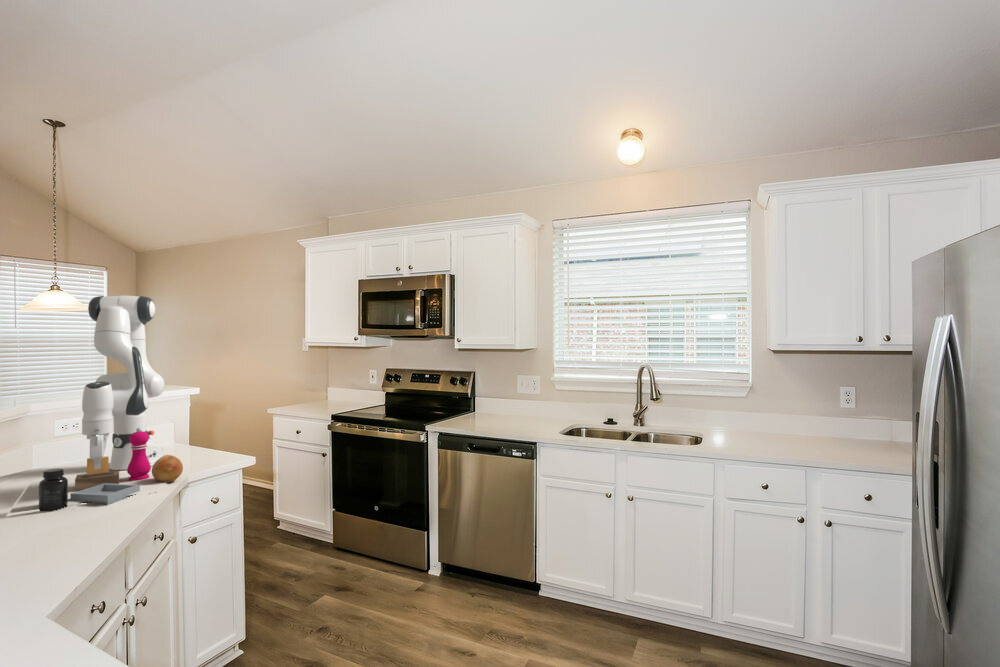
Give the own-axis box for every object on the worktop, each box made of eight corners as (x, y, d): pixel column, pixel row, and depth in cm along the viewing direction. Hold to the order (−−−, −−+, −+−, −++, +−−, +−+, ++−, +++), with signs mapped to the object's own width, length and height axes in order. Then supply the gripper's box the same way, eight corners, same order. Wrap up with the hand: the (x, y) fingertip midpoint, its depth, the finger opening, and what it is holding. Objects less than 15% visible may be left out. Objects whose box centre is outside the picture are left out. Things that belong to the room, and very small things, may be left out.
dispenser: (77, 489, 183) (77, 473, 183) (119, 483, 190) (119, 468, 190) (75, 494, 176) (75, 478, 176) (118, 488, 183) (118, 472, 183)
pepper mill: (138, 484, 189) (138, 429, 189) (122, 483, 190) (122, 428, 190) (155, 478, 196) (155, 426, 196) (139, 477, 197) (139, 425, 197)
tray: (104, 491, 179) (104, 483, 179) (139, 493, 177) (139, 484, 177) (70, 502, 167) (70, 493, 167) (107, 504, 165) (107, 495, 165)
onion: (144, 484, 188) (144, 457, 188) (170, 477, 197) (170, 451, 197) (163, 487, 185) (163, 459, 185) (189, 480, 194) (189, 453, 194)
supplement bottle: (44, 506, 164) (45, 468, 164) (71, 503, 166) (71, 466, 166) (34, 513, 157) (34, 473, 158) (62, 510, 160) (62, 471, 160)
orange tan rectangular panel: (87, 486, 182) (87, 458, 182) (108, 484, 185) (108, 456, 185) (86, 487, 181) (87, 459, 181) (108, 484, 184) (108, 456, 184)
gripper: (108, 431, 177) (107, 471, 177) (110, 423, 193) (110, 460, 193) (84, 433, 173) (84, 474, 173) (88, 425, 190) (88, 462, 190)
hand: (97, 467), depth 183 cm, fingers open, 4 cm apart
